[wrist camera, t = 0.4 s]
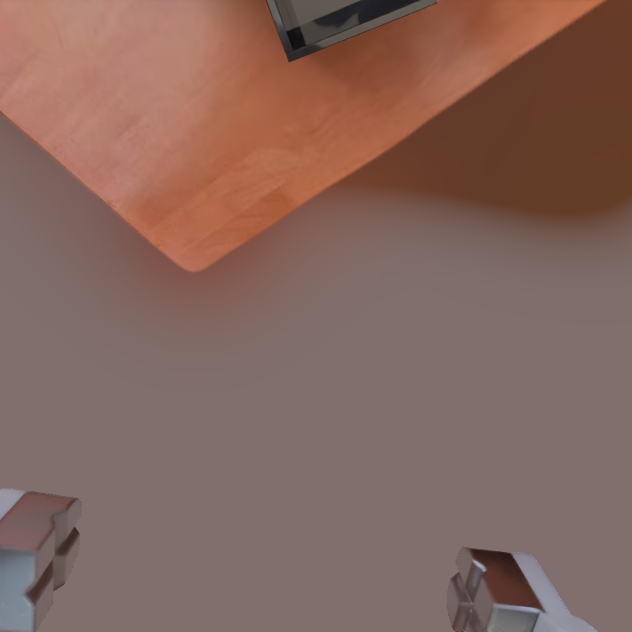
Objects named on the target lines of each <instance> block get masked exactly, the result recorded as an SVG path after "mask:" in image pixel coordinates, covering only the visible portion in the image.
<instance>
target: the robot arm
mask: <svg viewBox="0 0 632 632" xmlns="http://www.w3.org/2000/svg"><path fill="white" fill-rule="evenodd" d="M80 517H81V501H80V500H79V498H73V497H66V496H59V495H53V494H46V493H40V492H33V491H30V492H28V491H24V490H17V489H10V488H4V489H1V490H0V632H36V630H37V629H38V627H39V626H40V624H41V622H42V621H43V619H44V617H45V616H46V614H47V612H48V611H49V609H50V607H51V605H52V604H53V591H55V590H56V589H58V588H59V587H61V586H63V585H64V584H65V582H66V580H67V579H68V577H69V575H70V573H71V571H72V568H73V566H74V563H75V560H76V558H77V554H78V549H79V544H80V533H79V532H78V531H77V529H76V528H75V524H76V523H77V521H78V520H79V518H80ZM456 564H457V567H458V569H459V572H458V573H457V574H456V575H455V576H453V577H452V578H451V579H450V584H449V587H448V591H447V609H448V615H449V619H450V622H451V625H452V628H453V629H454V630H455V631H456V632H598V631H597V630H595V629H594V628H593V627H591V626H590V625H589V624H587V623H586V622H585V621H584V620H582V619H581V618H579V617H574V616H572V615H571V614H570V612H569V611H568V609H567V608H566V606H565V604H564V603H563V601H562V600H561V598H560V597H559V595H558V594H557V592H556V590H555V589H554V587H553V586H552V584H551V583H550V581H549V579H548V578H547V576H546V575H545V573H544V572H543V570H542V568H541V567H540V565H539V564H538V562H537V561H536V559H535V558H534V557H533V556H532V555H530V554H528V553H517V552H501V551H493V550H485V549H476V548H468V547H462V548H461V550H460V551H459V553H458V556H457V559H456Z"/></svg>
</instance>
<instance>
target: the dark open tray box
mask: <svg viewBox="0 0 632 632" xmlns="http://www.w3.org/2000/svg"><path fill="white" fill-rule="evenodd" d="M266 2H267V4H268V7H269V10H270V13H271V15H272V18H273V21H274V23H275V26H276V29H277V32H278V34H279V37H280V40H281V42H282V45H283V48H284V51H285V53H286V56H287V59H288V62H291V61H294V60H296V59H299V58H301V57H304V56H306V55H309V54H311V53H314V52H316V51H319V50H321V49H324V48H326V47H329V46H331V45H334V44H336V43H339V42H341V41H344V40H346V39H349V38H351V37H354V36H356V35H359V34H361V33H364V32H366V31H369V30H371V29H374V28H376V27H379V26H381V25H384V24H386V23H389V22H391V21H394V20H396V19H399V18H401V17H404V16H406V15H409V14H411V13H414V12H416V11H419V10H421V9H424V8H426V7H429V6H431V5H434V4H436V3H437V1H436V0H266Z"/></svg>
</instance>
